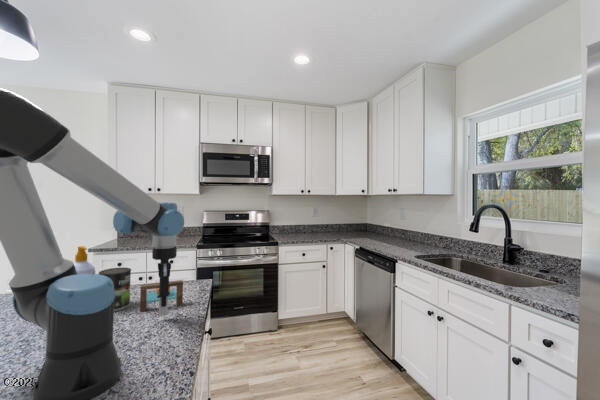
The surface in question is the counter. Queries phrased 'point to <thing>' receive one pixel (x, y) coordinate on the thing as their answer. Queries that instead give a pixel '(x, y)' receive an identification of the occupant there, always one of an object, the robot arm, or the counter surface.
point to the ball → (159, 291)
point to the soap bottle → (83, 262)
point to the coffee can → (119, 286)
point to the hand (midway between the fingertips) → (163, 314)
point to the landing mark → (153, 297)
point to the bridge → (157, 285)
